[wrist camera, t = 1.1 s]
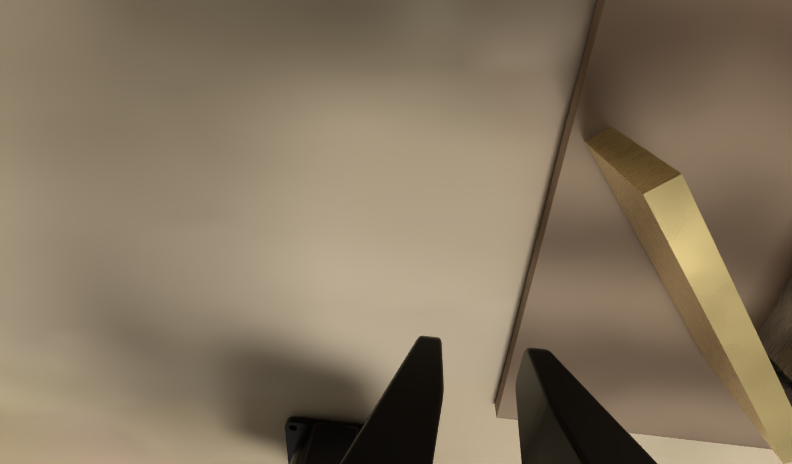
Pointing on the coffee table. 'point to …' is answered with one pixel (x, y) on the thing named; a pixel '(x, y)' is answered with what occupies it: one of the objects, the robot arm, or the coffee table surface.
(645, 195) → the block
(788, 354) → the steel leaf
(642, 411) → the hinge board
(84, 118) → the coffee table surface
